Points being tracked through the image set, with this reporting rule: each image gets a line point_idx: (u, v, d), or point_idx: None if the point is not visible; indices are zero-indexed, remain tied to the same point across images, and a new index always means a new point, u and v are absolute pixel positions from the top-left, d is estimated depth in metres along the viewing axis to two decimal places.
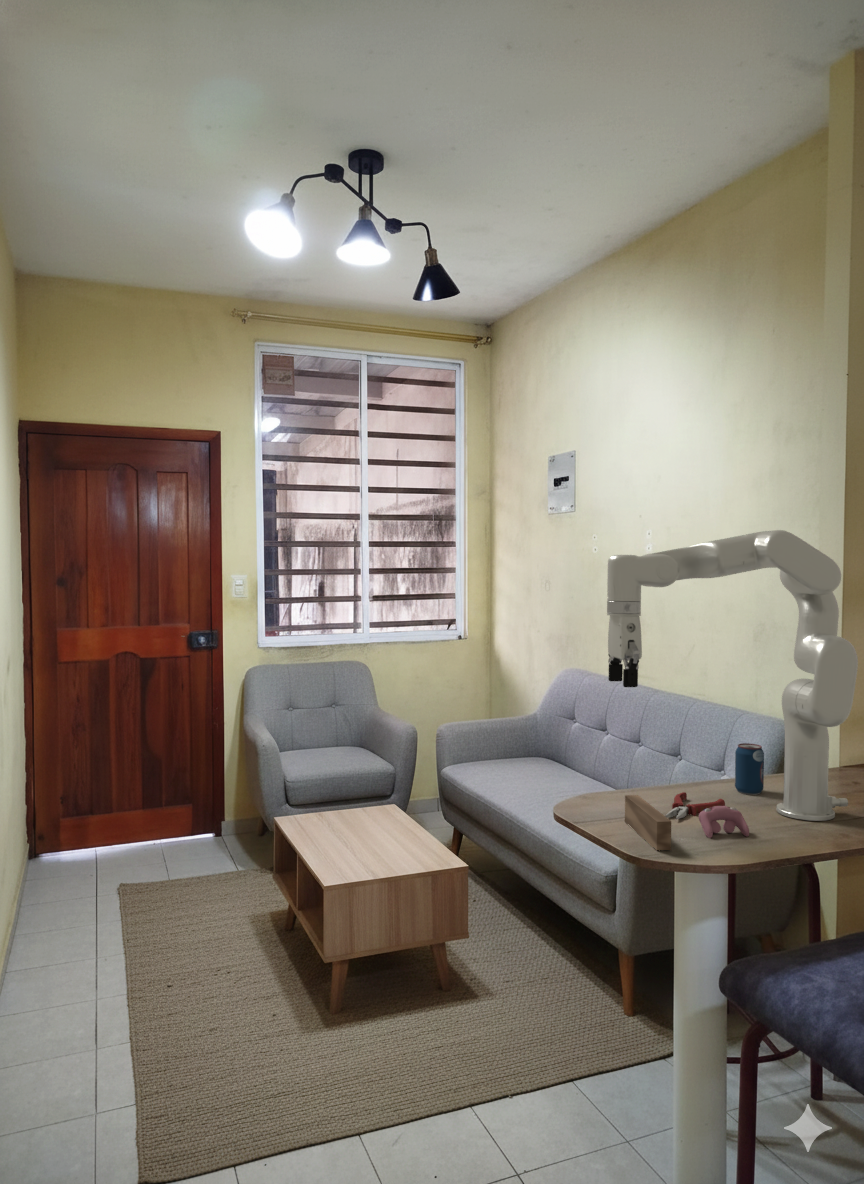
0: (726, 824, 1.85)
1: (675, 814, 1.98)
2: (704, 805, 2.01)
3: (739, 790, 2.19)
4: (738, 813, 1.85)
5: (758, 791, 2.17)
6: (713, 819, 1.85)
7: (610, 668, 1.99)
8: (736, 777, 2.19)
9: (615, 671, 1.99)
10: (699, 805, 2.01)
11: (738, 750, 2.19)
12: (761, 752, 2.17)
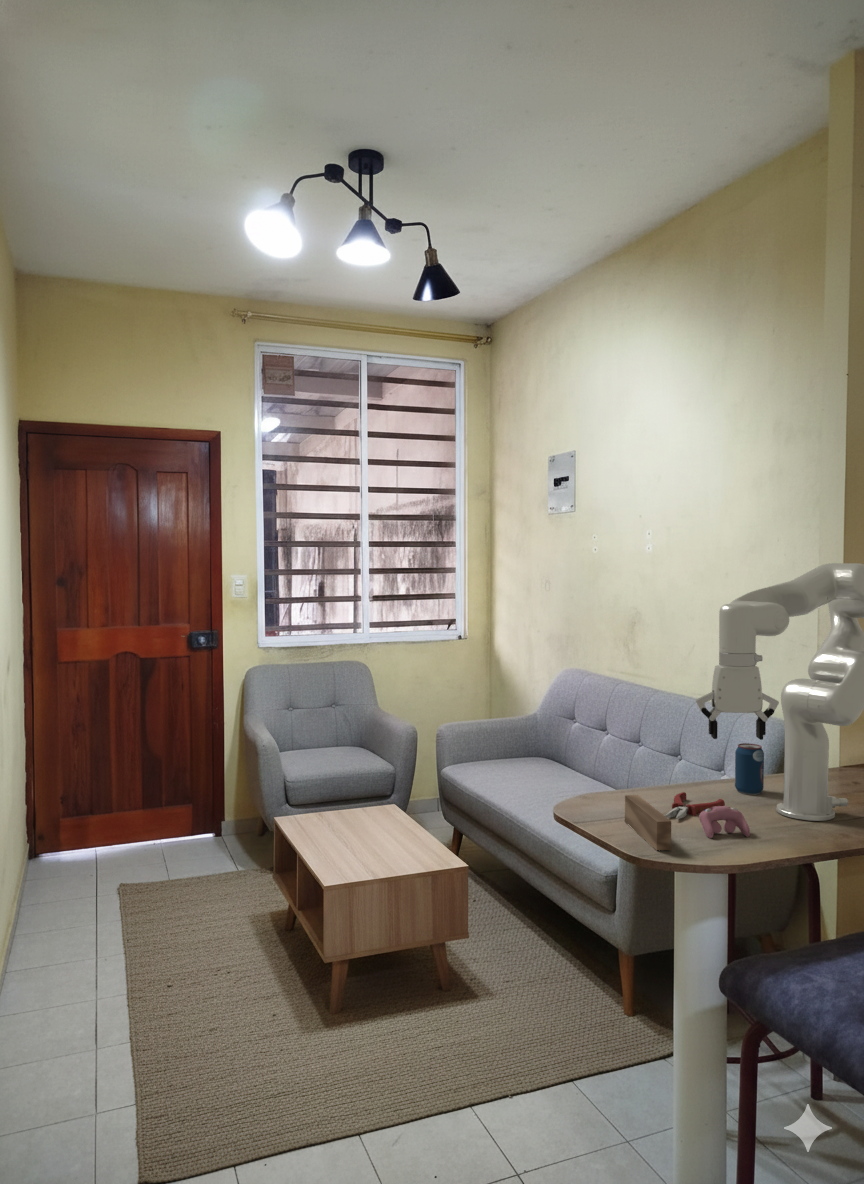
0: (727, 824, 1.85)
1: (675, 814, 1.97)
2: (704, 805, 2.01)
3: (739, 790, 2.19)
4: (739, 813, 1.85)
5: (758, 791, 2.17)
6: (714, 819, 1.84)
7: None
8: (736, 777, 2.19)
9: None
10: (699, 805, 2.00)
11: (738, 750, 2.19)
12: (761, 752, 2.17)
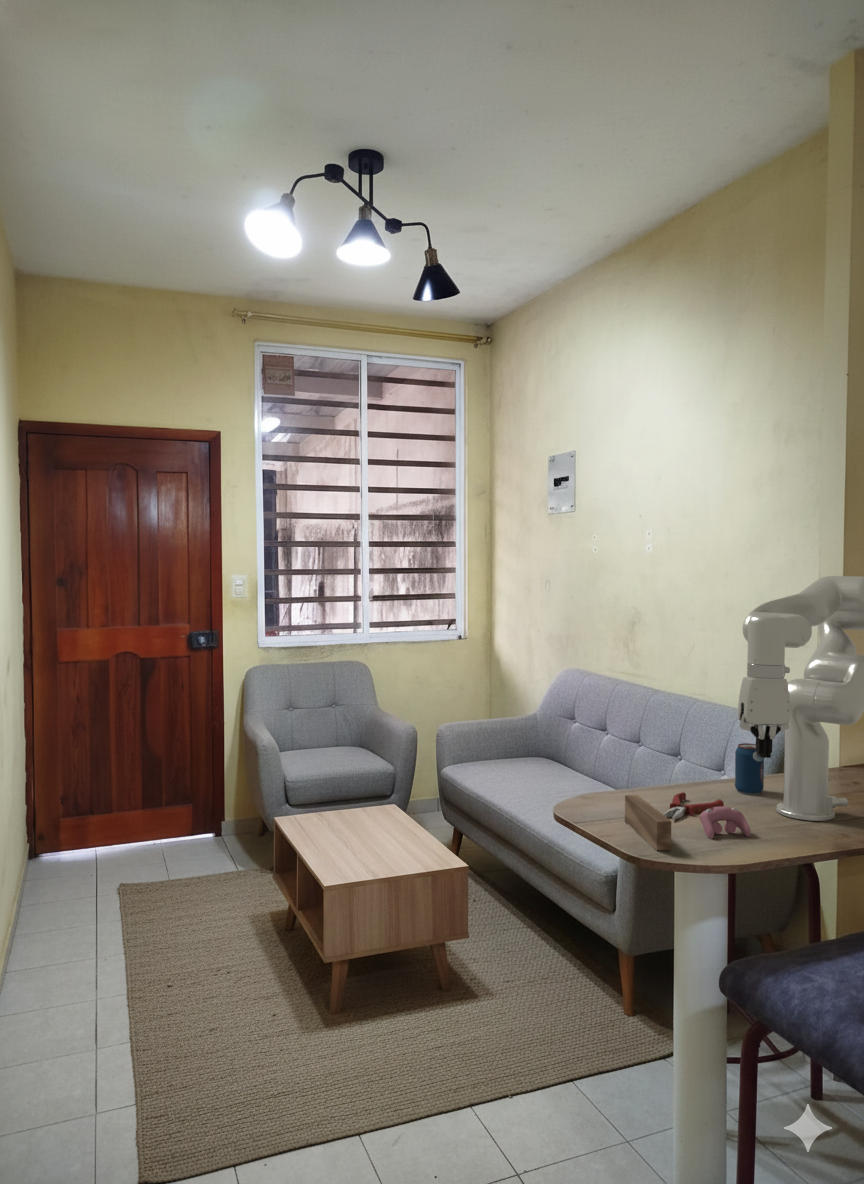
0: (727, 825, 1.85)
1: (672, 814, 1.98)
2: (702, 805, 2.01)
3: (739, 790, 2.19)
4: (739, 814, 1.85)
5: (758, 791, 2.17)
6: (714, 820, 1.84)
7: (766, 744, 1.84)
8: (736, 777, 2.19)
9: None
10: (697, 805, 2.00)
11: (738, 750, 2.19)
12: None
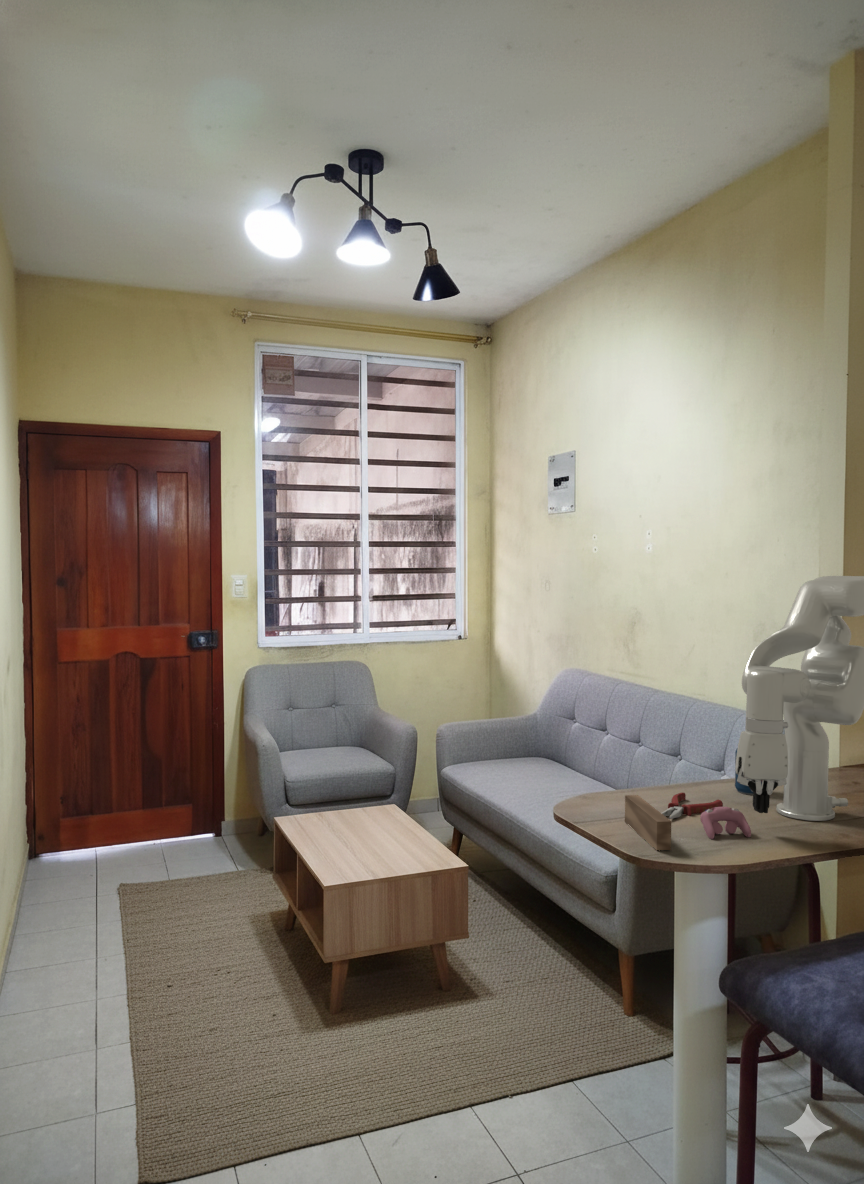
0: (728, 825, 1.85)
1: (669, 814, 1.98)
2: (700, 805, 2.01)
3: (739, 790, 2.19)
4: (740, 814, 1.85)
5: None
6: (715, 820, 1.84)
7: (763, 799, 1.84)
8: (736, 777, 2.19)
9: None
10: (695, 805, 2.00)
11: None
12: None
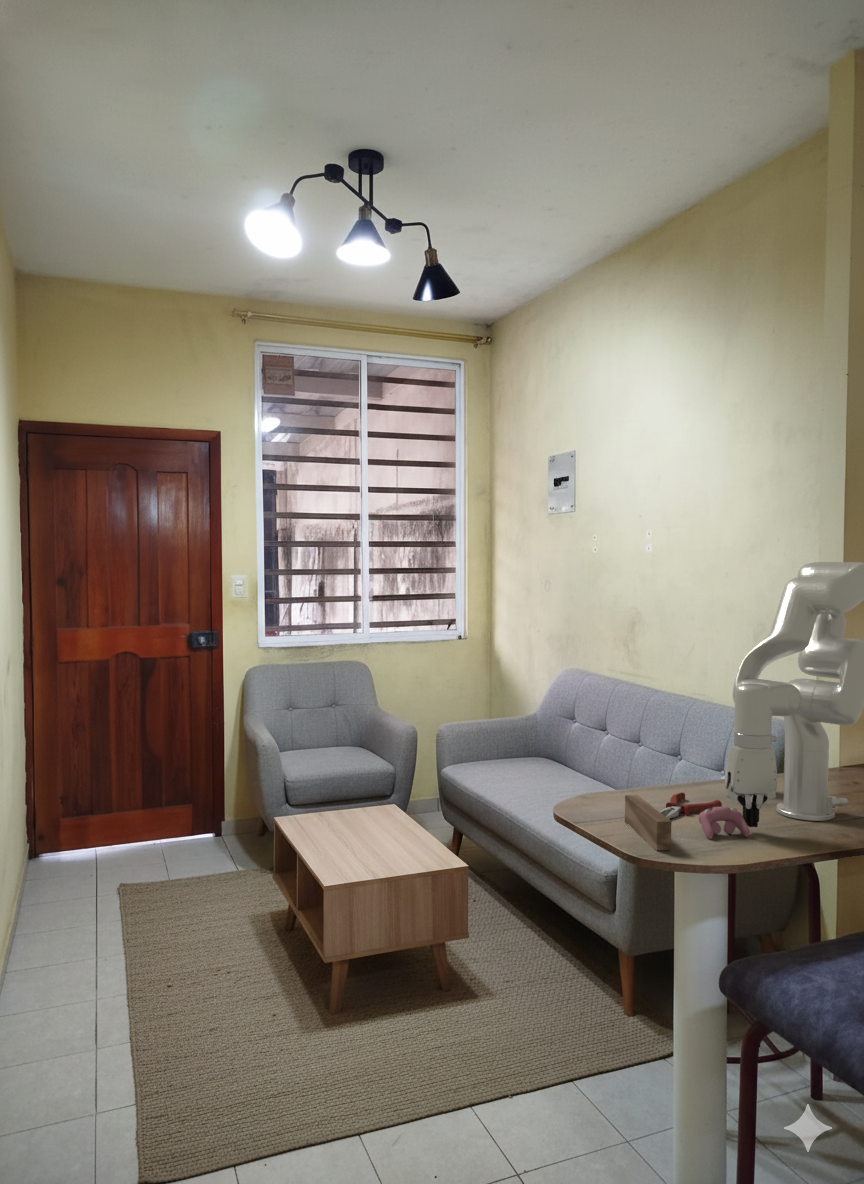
0: (726, 825, 1.84)
1: (667, 814, 1.98)
2: (698, 805, 2.01)
3: None
4: (738, 814, 1.84)
5: None
6: (713, 820, 1.84)
7: (753, 813, 1.84)
8: None
9: None
10: (693, 805, 2.00)
11: None
12: None
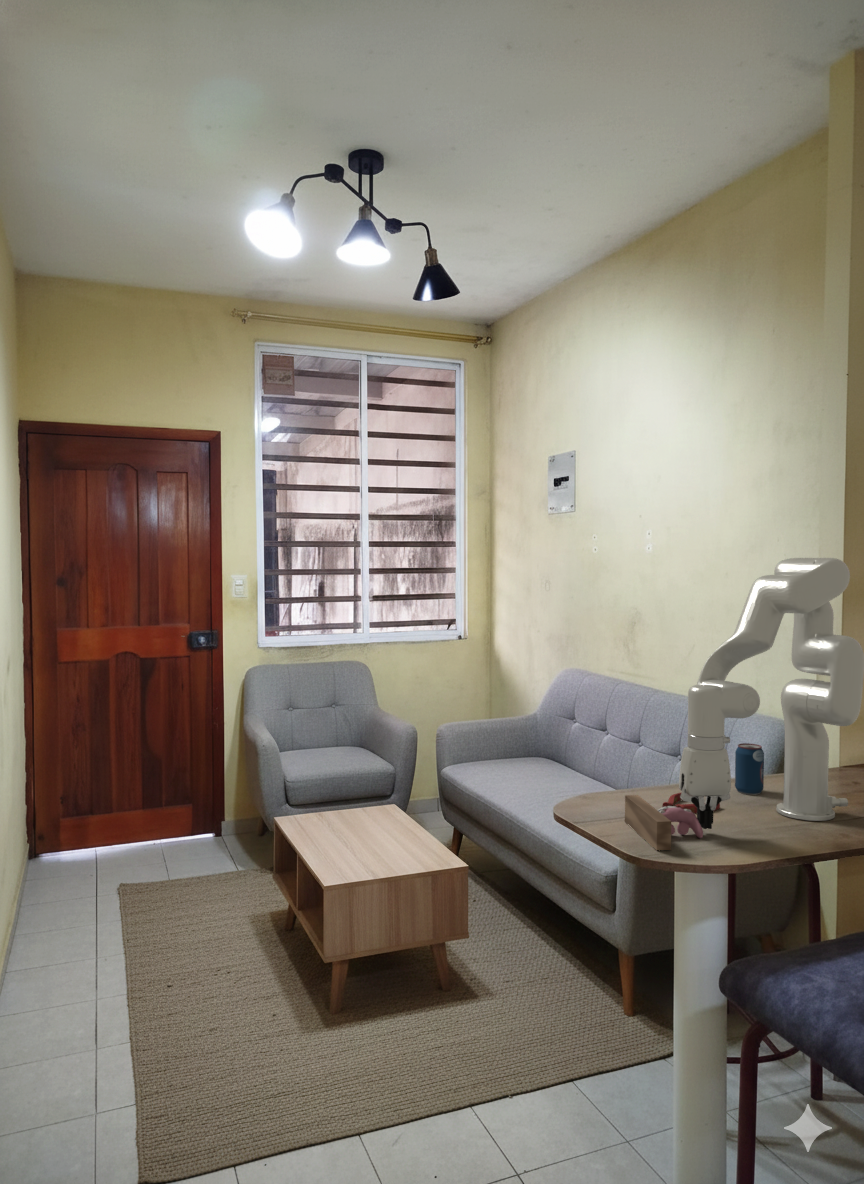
0: (680, 826, 1.84)
1: None
2: None
3: (739, 790, 2.19)
4: (692, 815, 1.84)
5: (758, 791, 2.17)
6: None
7: (707, 815, 1.83)
8: (736, 777, 2.19)
9: None
10: (689, 805, 2.00)
11: (738, 750, 2.19)
12: (761, 752, 2.17)
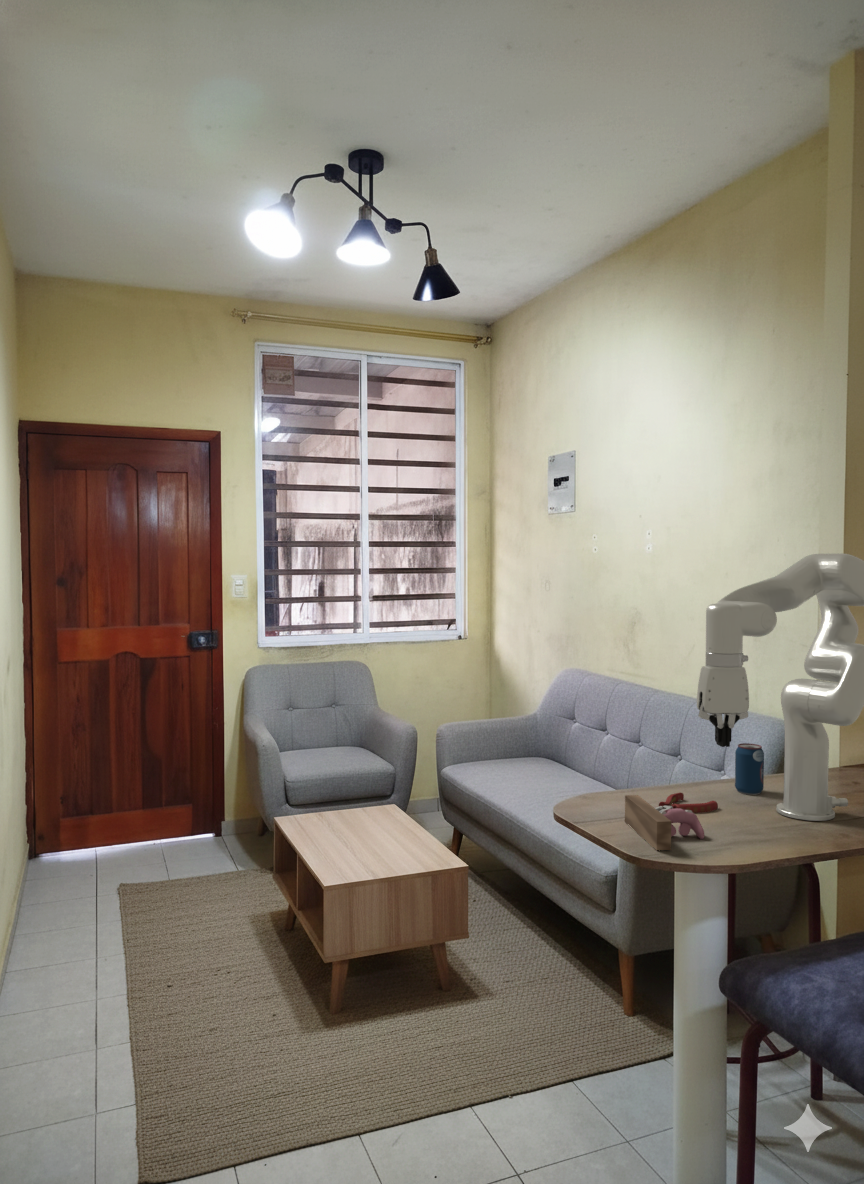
0: (681, 827, 1.83)
1: None
2: (691, 805, 2.01)
3: (739, 790, 2.19)
4: (693, 815, 1.83)
5: (758, 791, 2.17)
6: None
7: (725, 732, 1.83)
8: (736, 777, 2.19)
9: None
10: (685, 805, 2.00)
11: (738, 750, 2.19)
12: (761, 752, 2.17)
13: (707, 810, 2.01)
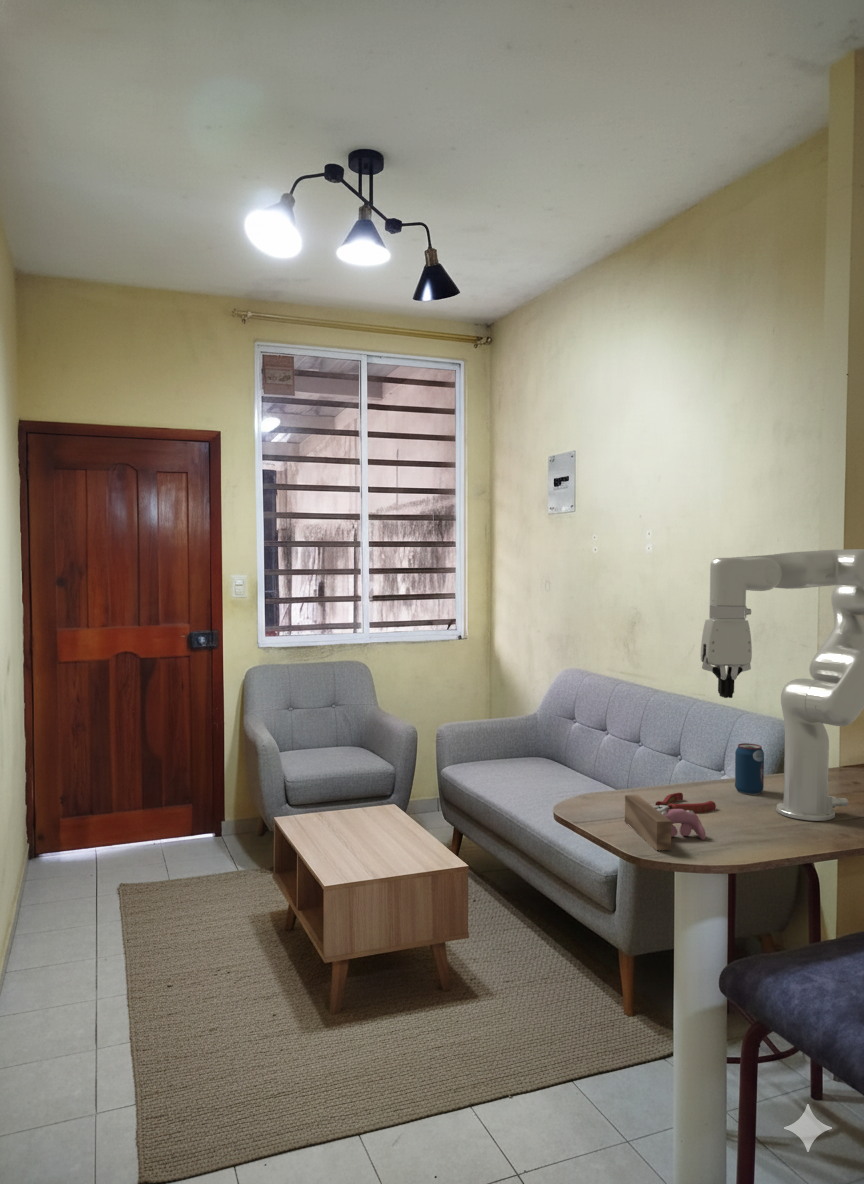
0: (682, 827, 1.83)
1: None
2: (688, 805, 2.01)
3: (739, 790, 2.19)
4: (694, 816, 1.83)
5: (758, 791, 2.17)
6: None
7: (728, 684, 1.87)
8: (736, 777, 2.19)
9: None
10: (682, 805, 2.01)
11: (738, 750, 2.19)
12: (761, 752, 2.17)
13: (704, 810, 2.01)
